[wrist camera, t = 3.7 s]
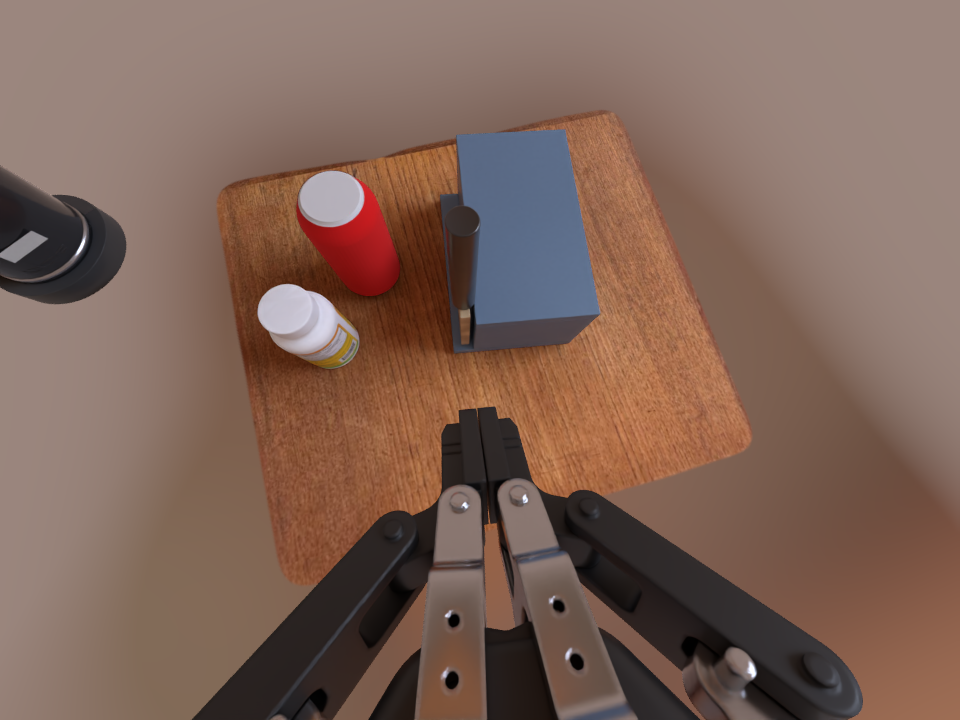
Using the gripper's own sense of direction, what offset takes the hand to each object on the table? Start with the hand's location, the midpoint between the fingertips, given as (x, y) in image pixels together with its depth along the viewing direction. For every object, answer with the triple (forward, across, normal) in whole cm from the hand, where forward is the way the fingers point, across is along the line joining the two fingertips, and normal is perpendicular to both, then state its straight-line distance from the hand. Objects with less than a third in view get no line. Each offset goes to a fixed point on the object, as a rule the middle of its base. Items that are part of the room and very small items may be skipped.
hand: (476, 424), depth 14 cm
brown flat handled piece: (+22, 0, +4) cm, 23 cm away
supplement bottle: (+21, +13, +7) cm, 26 cm away
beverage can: (+27, +9, +2) cm, 28 cm away
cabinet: (+26, -5, +2) cm, 27 cm away
